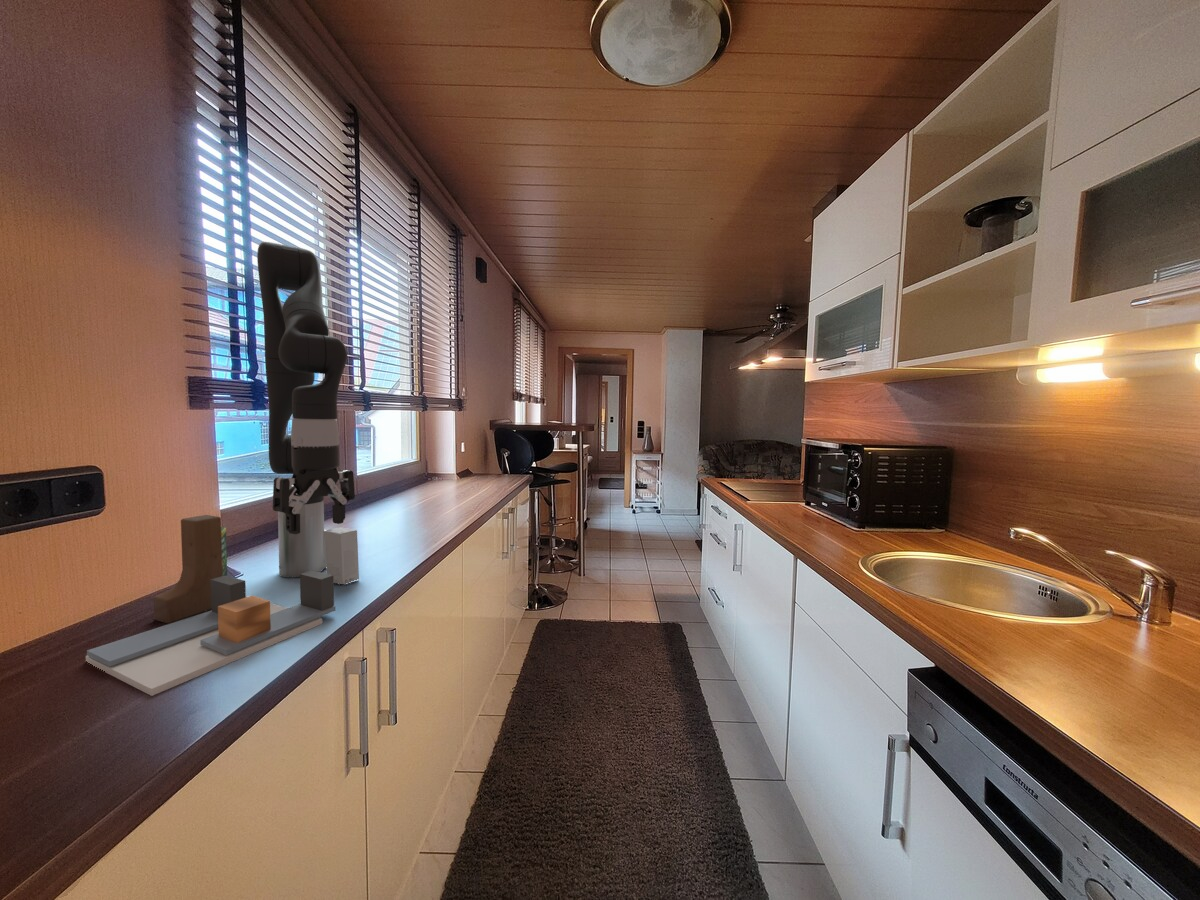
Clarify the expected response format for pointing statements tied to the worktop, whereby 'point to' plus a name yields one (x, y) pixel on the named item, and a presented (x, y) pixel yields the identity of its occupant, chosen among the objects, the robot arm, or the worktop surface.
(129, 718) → the worktop surface
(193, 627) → the strip empty
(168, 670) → the lane board
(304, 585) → the strip with cube
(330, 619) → the worktop surface
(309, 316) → the robot arm
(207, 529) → the wooden block
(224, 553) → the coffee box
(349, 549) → the skincare box
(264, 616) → the cube
